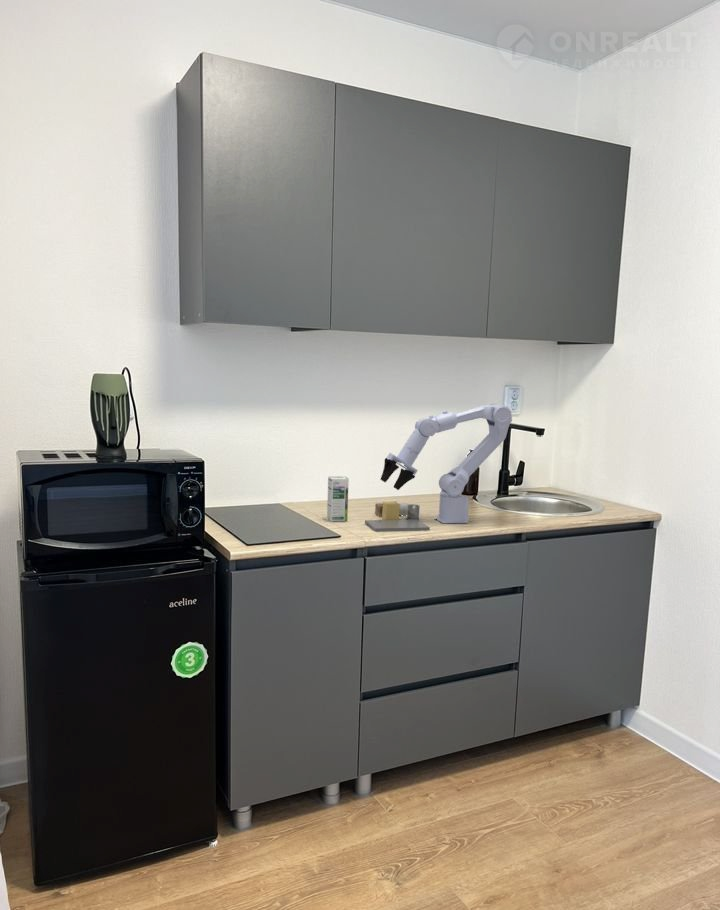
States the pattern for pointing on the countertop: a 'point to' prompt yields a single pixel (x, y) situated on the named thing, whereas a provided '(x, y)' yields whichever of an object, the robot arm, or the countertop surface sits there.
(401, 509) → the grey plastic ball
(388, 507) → the ochre block
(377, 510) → the walnut block
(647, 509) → the countertop surface
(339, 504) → the syrup box
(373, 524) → the slate board
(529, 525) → the countertop surface
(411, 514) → the dark metal cylinder
